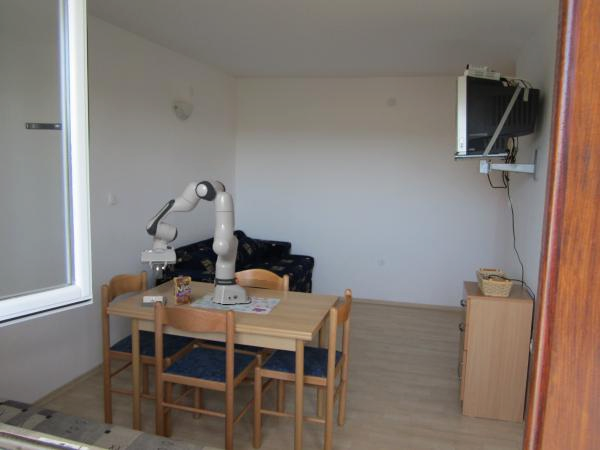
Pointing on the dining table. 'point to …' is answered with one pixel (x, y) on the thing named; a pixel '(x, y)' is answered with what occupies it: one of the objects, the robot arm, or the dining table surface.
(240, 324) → the dining table surface
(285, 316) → the dining table surface
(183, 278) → the candy box
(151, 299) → the scale
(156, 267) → the steel weight
